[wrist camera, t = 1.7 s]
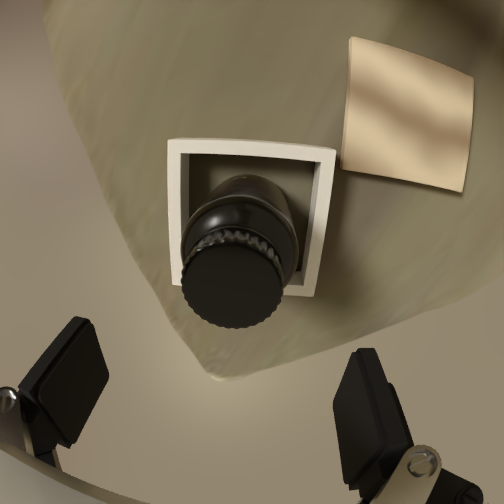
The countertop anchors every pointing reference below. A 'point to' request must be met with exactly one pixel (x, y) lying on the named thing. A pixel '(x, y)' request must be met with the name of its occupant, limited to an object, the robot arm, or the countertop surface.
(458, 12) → the countertop surface
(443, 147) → the board
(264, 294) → the supplement bottle
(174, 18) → the countertop surface
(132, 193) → the countertop surface
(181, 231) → the white square frame
